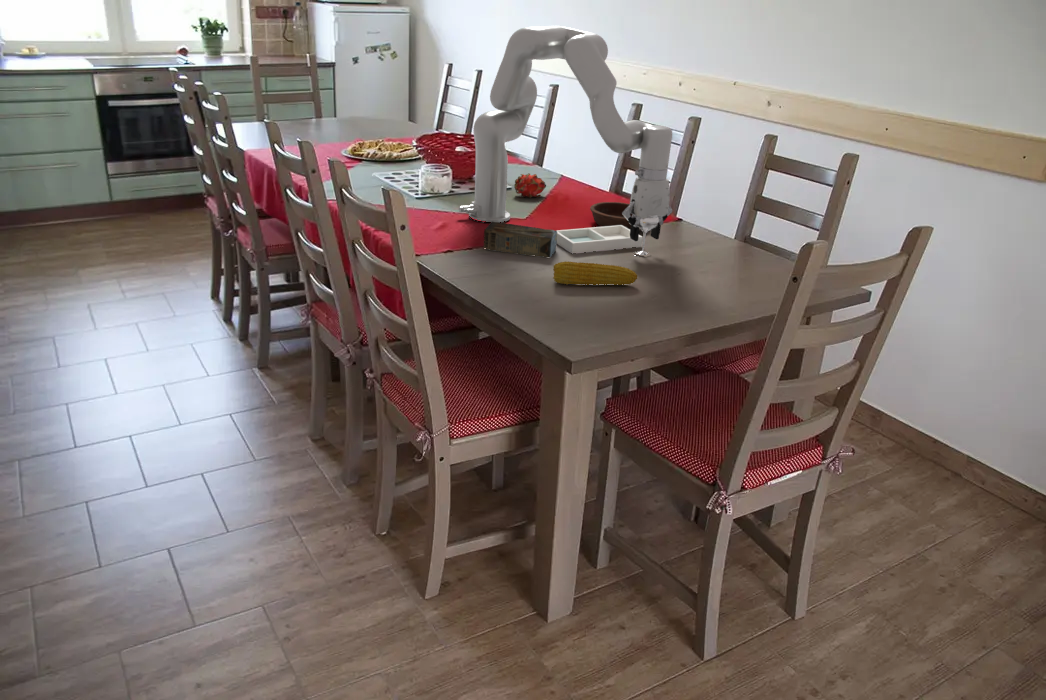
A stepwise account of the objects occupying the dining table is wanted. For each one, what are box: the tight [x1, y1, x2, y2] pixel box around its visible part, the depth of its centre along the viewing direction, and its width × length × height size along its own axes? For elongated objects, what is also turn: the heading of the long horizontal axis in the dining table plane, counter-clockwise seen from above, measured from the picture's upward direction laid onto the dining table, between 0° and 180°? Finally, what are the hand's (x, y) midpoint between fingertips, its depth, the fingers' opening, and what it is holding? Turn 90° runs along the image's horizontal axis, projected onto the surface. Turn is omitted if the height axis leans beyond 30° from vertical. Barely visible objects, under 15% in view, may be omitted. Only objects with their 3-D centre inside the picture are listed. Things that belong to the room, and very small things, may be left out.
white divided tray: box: [556, 225, 643, 255], centre depth 235 cm, size 22×12×3 cm, turn 115°
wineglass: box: [634, 215, 659, 255], centre depth 227 cm, size 7×7×12 cm
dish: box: [589, 201, 643, 232], centre depth 254 cm, size 18×22×5 cm
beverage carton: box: [483, 221, 558, 258], centre depth 226 cm, size 8×19×7 cm, turn 77°
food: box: [552, 260, 638, 286], centre depth 205 cm, size 21×6×6 cm, turn 96°
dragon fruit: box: [513, 173, 547, 199], centre depth 277 cm, size 8×8×12 cm
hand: (644, 238), depth 228 cm, fingers closed on wineglass, 6 cm apart
